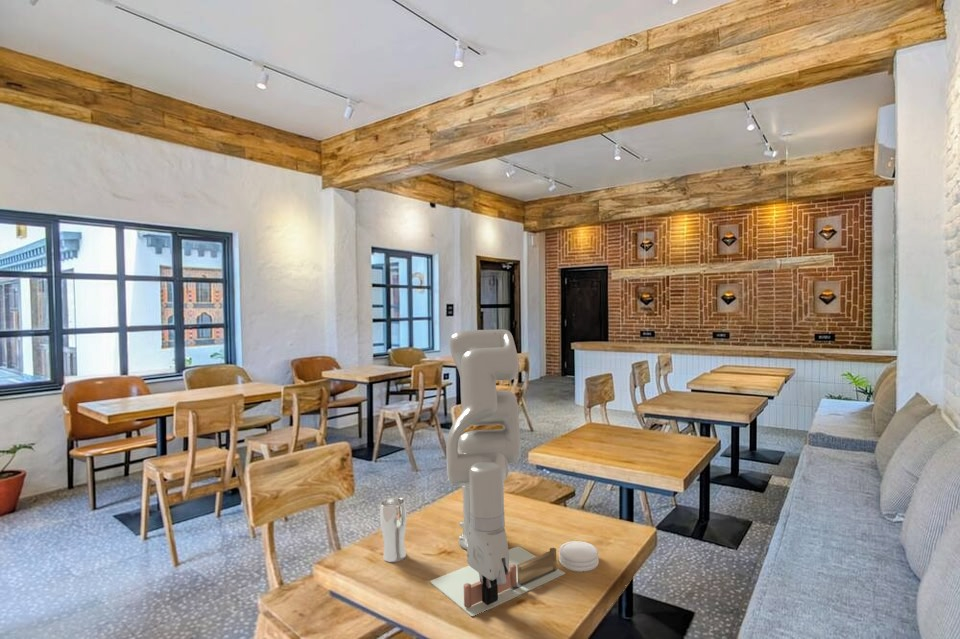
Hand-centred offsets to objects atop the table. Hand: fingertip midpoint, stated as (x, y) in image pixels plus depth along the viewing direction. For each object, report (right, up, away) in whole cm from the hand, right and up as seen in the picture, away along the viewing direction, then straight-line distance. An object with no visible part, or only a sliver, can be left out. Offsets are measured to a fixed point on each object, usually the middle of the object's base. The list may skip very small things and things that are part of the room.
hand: (490, 601), depth 115 cm
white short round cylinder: (+23, -1, +19) cm, 30 cm away
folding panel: (0, -1, +4) cm, 4 cm away
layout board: (+2, -1, +12) cm, 13 cm away
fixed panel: (+12, -1, +12) cm, 17 cm away
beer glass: (-25, -2, +25) cm, 35 cm away
